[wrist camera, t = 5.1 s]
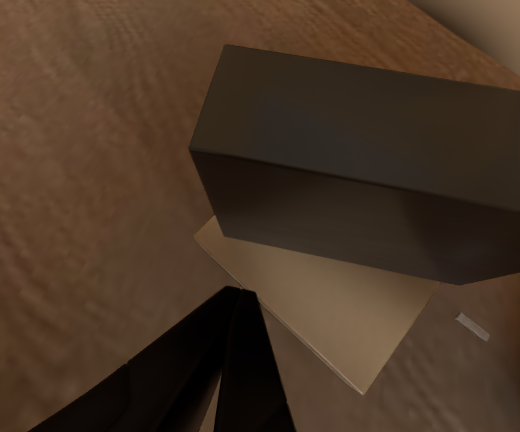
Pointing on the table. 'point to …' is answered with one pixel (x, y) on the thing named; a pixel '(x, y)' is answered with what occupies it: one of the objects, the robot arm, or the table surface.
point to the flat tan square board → (329, 302)
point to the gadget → (363, 164)
